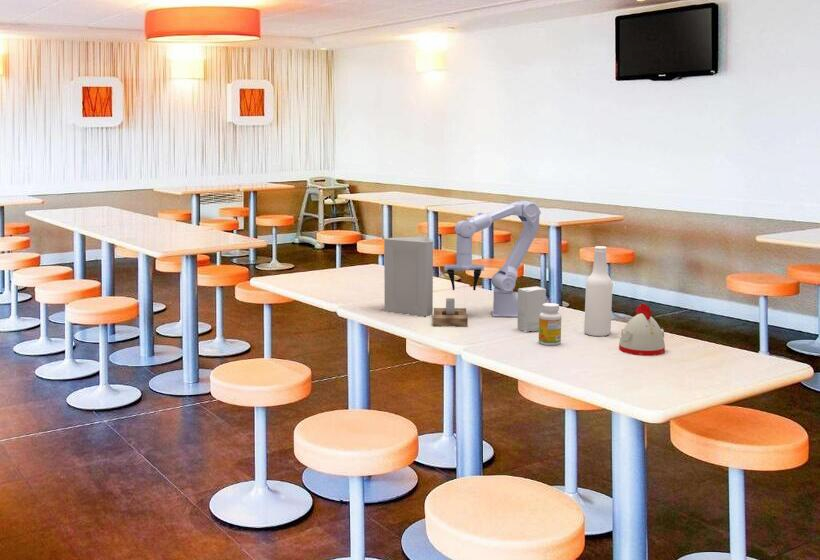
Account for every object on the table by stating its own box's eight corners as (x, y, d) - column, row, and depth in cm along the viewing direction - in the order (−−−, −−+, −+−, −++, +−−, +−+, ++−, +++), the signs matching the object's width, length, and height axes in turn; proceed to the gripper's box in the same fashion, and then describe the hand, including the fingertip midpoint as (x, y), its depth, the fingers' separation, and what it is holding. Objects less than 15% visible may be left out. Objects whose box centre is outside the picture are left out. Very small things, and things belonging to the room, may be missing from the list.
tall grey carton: (446, 310, 334) (446, 238, 329) (426, 317, 321) (427, 242, 317) (404, 305, 344) (404, 235, 339) (383, 311, 331) (383, 239, 326)
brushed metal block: (454, 319, 317) (454, 298, 315) (454, 322, 312) (454, 301, 311) (445, 319, 317) (446, 298, 316) (446, 322, 312) (446, 301, 311)
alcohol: (579, 332, 298) (582, 245, 293) (601, 330, 301) (604, 244, 296) (593, 337, 289) (596, 248, 284) (615, 335, 293) (619, 247, 288)
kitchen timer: (633, 357, 265) (635, 309, 262) (611, 346, 278) (613, 300, 275) (673, 354, 268) (675, 306, 266) (649, 343, 281) (651, 298, 279)
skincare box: (536, 327, 305) (537, 285, 303) (546, 330, 300) (547, 288, 297) (516, 329, 302) (517, 287, 299) (525, 332, 296) (526, 290, 294)
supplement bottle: (536, 340, 285) (537, 302, 283) (557, 340, 286) (558, 302, 283) (541, 345, 278) (542, 306, 276) (563, 345, 279) (564, 306, 276)
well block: (465, 316, 323) (465, 308, 323) (467, 326, 305) (467, 318, 305) (433, 315, 323) (433, 308, 323) (433, 326, 306) (433, 318, 305)
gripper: (444, 254, 314) (444, 291, 316) (484, 255, 314) (484, 291, 316) (444, 252, 321) (444, 288, 323) (483, 252, 320) (483, 288, 323)
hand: (463, 289), depth 320 cm, fingers open, 7 cm apart
